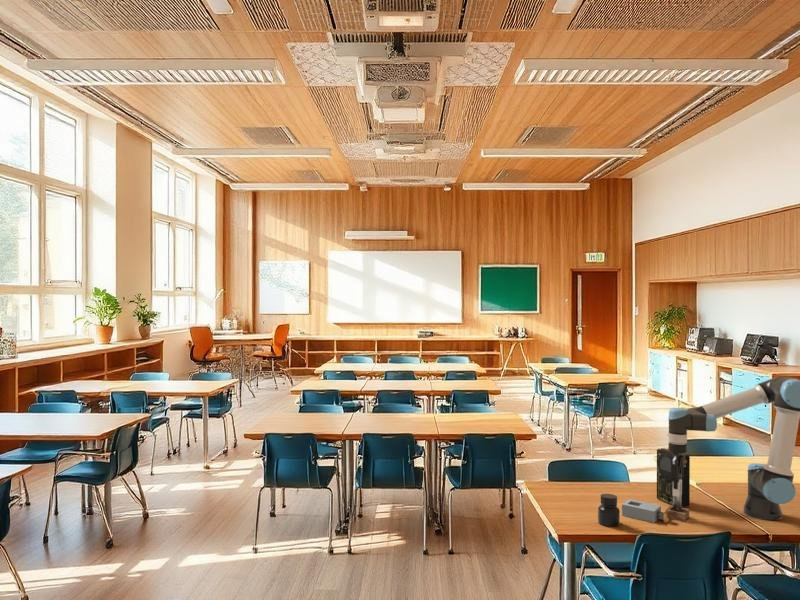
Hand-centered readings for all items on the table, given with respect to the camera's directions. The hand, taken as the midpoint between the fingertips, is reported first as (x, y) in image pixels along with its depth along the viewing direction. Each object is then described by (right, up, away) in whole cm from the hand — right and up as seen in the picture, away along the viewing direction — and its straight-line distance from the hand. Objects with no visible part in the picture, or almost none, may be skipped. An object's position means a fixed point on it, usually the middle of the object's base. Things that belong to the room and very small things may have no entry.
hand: (677, 494), depth 264 cm
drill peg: (0, -7, 0) cm, 7 cm away
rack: (0, -10, 0) cm, 10 cm away
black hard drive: (+7, -11, +20) cm, 24 cm away
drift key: (-10, -10, -3) cm, 15 cm away
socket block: (-16, -10, +1) cm, 19 cm away
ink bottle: (-34, -10, -9) cm, 36 cm away
